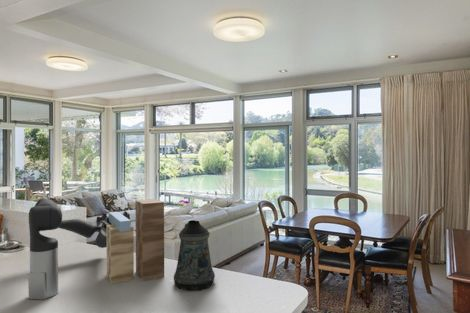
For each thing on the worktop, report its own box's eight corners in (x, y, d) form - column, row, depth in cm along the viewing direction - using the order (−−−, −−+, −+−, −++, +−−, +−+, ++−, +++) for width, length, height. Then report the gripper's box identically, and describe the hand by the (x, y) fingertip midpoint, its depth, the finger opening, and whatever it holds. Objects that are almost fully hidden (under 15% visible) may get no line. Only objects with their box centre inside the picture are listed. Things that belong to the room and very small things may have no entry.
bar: (130, 230, 135) (130, 220, 134) (120, 231, 132) (120, 221, 132) (117, 220, 155) (117, 211, 155) (108, 221, 153) (108, 212, 153)
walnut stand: (164, 276, 144) (164, 202, 144) (143, 280, 139) (143, 203, 139) (155, 268, 154) (155, 198, 154) (135, 272, 150) (135, 200, 149)
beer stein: (194, 295, 125) (194, 228, 125) (160, 283, 137) (160, 222, 136) (223, 281, 138) (222, 221, 138) (189, 271, 150) (189, 215, 150)
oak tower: (133, 279, 141) (133, 226, 141) (111, 283, 136) (111, 229, 136) (128, 271, 150) (127, 222, 149) (106, 275, 145) (106, 225, 145)
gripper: (93, 220, 159) (98, 207, 147) (124, 217, 166) (131, 204, 154) (94, 235, 156) (99, 223, 144) (125, 232, 163) (133, 220, 151)
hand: (115, 214), depth 149 cm, fingers open, 8 cm apart
